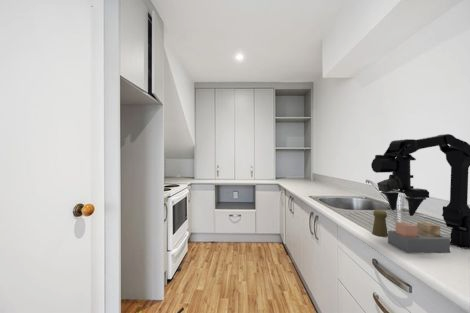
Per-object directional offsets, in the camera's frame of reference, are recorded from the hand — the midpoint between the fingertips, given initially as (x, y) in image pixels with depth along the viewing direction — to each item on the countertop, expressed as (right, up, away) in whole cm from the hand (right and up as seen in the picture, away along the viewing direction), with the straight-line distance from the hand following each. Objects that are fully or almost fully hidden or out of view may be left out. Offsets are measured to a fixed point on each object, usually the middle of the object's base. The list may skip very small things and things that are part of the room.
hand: (401, 212), depth 90 cm
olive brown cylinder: (+1, -14, +15) cm, 20 cm away
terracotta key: (+1, -10, -1) cm, 10 cm away
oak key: (+10, -10, 0) cm, 14 cm away
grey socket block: (+6, -13, 0) cm, 14 cm away
